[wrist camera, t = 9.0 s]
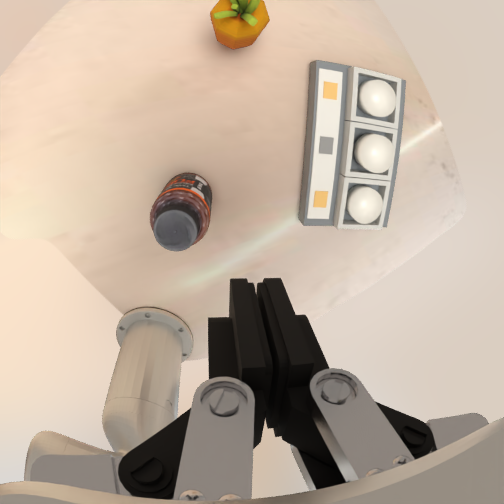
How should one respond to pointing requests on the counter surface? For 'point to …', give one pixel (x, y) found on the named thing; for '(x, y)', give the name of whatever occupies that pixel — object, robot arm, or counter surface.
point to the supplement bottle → (182, 212)
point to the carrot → (239, 21)
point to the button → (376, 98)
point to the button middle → (374, 152)
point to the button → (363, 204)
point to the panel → (344, 145)
